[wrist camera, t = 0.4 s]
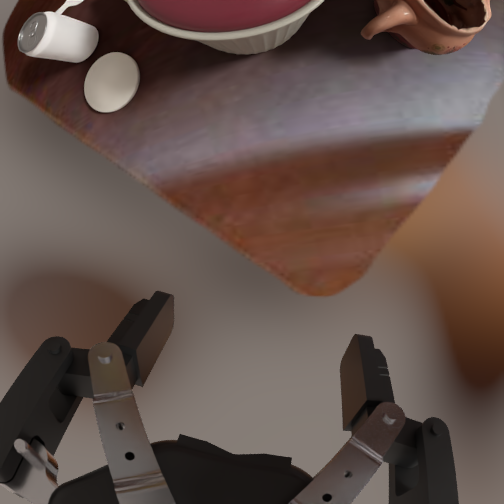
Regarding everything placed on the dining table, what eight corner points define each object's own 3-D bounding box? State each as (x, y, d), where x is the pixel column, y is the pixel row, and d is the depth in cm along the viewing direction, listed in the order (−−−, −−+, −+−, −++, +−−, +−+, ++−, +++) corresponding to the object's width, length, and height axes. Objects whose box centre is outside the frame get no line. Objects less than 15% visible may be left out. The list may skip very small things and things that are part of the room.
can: (67, 68, 33) (13, 63, 22) (68, 33, 30) (17, 22, 19) (99, 55, 32) (47, 44, 21) (101, 19, 29) (51, 0, 18)
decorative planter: (382, 95, 32) (431, 84, 19) (317, 25, 29) (333, -21, 16) (467, 31, 25) (523, 13, 12) (411, -31, 22) (450, -71, 9)
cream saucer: (90, 59, 32) (86, 58, 31) (142, 49, 32) (139, 47, 31) (86, 115, 36) (82, 115, 35) (138, 109, 35) (134, 109, 34)
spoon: (25, 40, 30) (23, 40, 30) (95, -32, 25) (94, -33, 24) (33, 57, 32) (31, 57, 31) (106, -18, 27) (105, -19, 26)
